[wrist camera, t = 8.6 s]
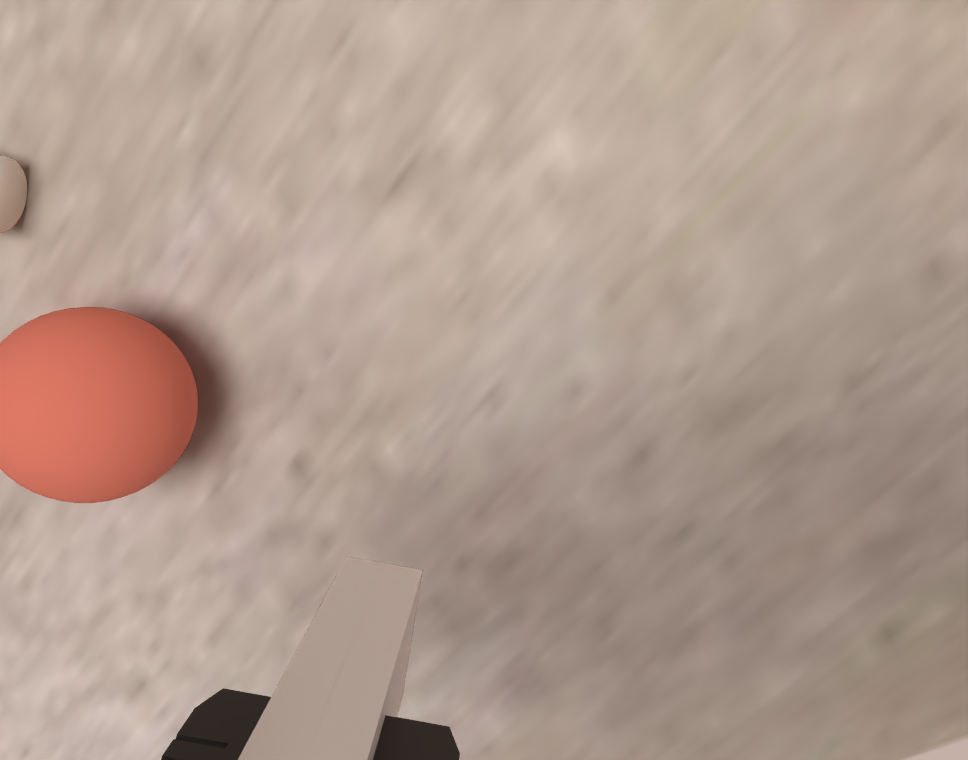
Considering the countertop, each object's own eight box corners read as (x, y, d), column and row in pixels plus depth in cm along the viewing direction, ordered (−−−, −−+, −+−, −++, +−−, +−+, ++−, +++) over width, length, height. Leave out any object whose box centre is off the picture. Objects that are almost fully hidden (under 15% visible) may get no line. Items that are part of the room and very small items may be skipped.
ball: (-28, 281, 22) (176, 304, 26) (-43, 468, 23) (156, 462, 27) (-3, 316, 17) (238, 336, 21) (-23, 545, 18) (211, 525, 22)
